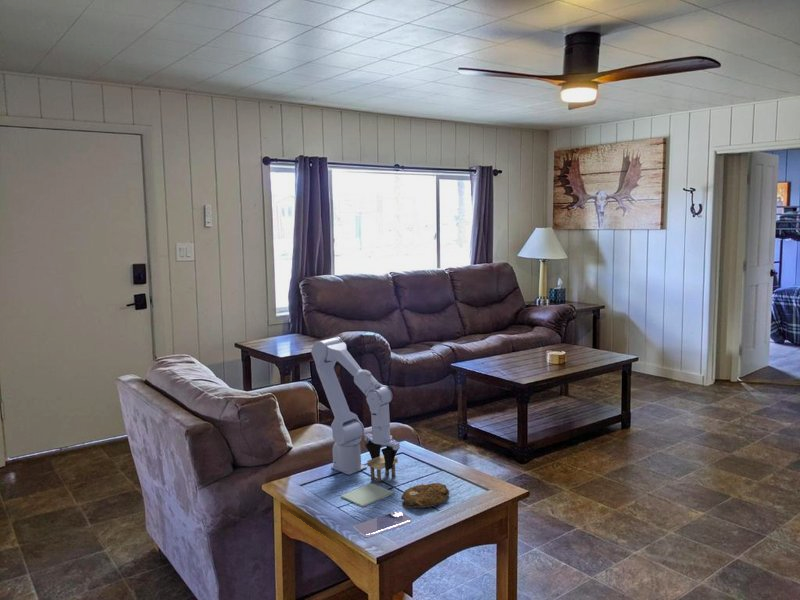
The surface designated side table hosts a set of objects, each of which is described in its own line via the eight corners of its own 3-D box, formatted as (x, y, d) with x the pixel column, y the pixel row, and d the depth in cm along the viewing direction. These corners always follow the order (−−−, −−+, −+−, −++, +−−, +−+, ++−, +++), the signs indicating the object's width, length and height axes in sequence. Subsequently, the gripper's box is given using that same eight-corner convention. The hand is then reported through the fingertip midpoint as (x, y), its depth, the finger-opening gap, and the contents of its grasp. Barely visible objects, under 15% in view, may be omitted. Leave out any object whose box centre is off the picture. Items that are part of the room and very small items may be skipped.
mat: (340, 497, 183) (340, 495, 183) (371, 484, 192) (371, 483, 192) (362, 507, 176) (362, 505, 176) (393, 493, 184) (393, 491, 184)
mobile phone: (351, 524, 165) (399, 509, 173) (351, 528, 165) (399, 512, 173) (365, 535, 158) (414, 519, 166) (365, 539, 158) (414, 522, 166)
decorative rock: (431, 488, 188) (394, 506, 178) (430, 475, 188) (393, 492, 178) (459, 497, 180) (422, 517, 170) (457, 484, 179) (420, 502, 169)
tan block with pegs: (368, 479, 196) (367, 460, 195) (386, 471, 201) (385, 453, 200) (379, 483, 192) (378, 465, 191) (398, 475, 197) (397, 457, 197)
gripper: (405, 426, 192) (407, 468, 194) (374, 417, 202) (376, 457, 204) (389, 432, 187) (391, 475, 189) (358, 422, 198) (360, 463, 199)
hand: (382, 466), depth 196 cm, fingers closed on tan block with pegs, 5 cm apart
